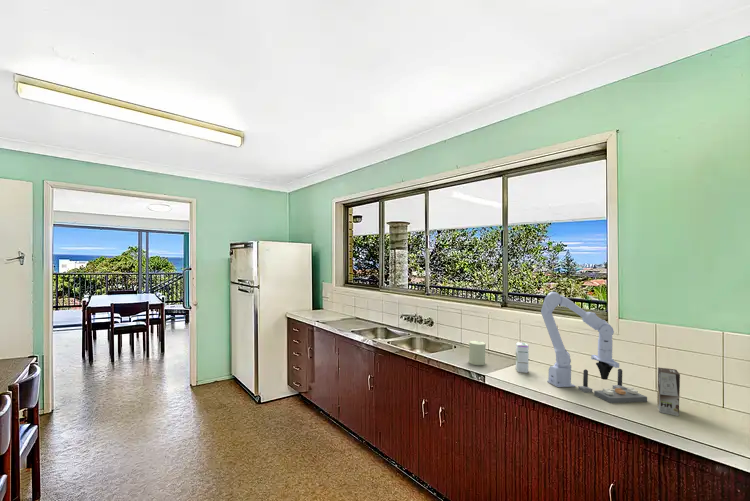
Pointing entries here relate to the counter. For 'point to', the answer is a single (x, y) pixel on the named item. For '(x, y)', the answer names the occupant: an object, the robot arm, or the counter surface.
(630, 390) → the right paddle
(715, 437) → the counter surface
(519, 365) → the syrup box
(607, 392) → the left paddle
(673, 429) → the counter surface
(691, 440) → the counter surface
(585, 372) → the grey peg stand
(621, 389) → the middle paddle
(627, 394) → the switch panel
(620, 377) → the grey post with base
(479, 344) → the can
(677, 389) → the coffee box
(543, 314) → the robot arm
